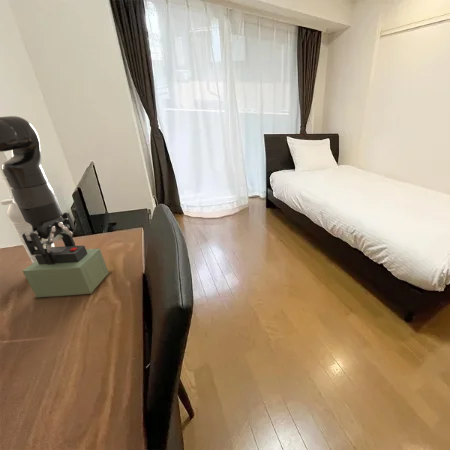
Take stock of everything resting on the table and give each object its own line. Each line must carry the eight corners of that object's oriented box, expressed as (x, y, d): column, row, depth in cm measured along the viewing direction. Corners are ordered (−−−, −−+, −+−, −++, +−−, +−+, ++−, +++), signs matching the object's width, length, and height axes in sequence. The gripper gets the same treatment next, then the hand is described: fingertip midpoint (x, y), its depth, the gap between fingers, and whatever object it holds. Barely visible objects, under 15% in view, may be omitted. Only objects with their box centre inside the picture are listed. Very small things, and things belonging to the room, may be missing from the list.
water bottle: (42, 264, 90) (6, 192, 79) (65, 260, 92) (34, 190, 81) (29, 279, 82) (-12, 203, 71) (56, 275, 85) (19, 200, 74)
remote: (38, 264, 74) (33, 254, 73) (50, 255, 78) (45, 246, 77) (78, 262, 75) (74, 252, 74) (87, 253, 79) (84, 244, 78)
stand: (36, 297, 75) (22, 271, 71) (60, 275, 84) (49, 251, 80) (90, 293, 77) (79, 267, 73) (108, 272, 86) (99, 248, 82)
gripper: (41, 192, 75) (64, 243, 82) (-4, 213, 62) (27, 271, 69) (71, 191, 76) (91, 242, 83) (32, 211, 63) (59, 269, 70)
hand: (62, 255), depth 76 cm, fingers open, 7 cm apart
